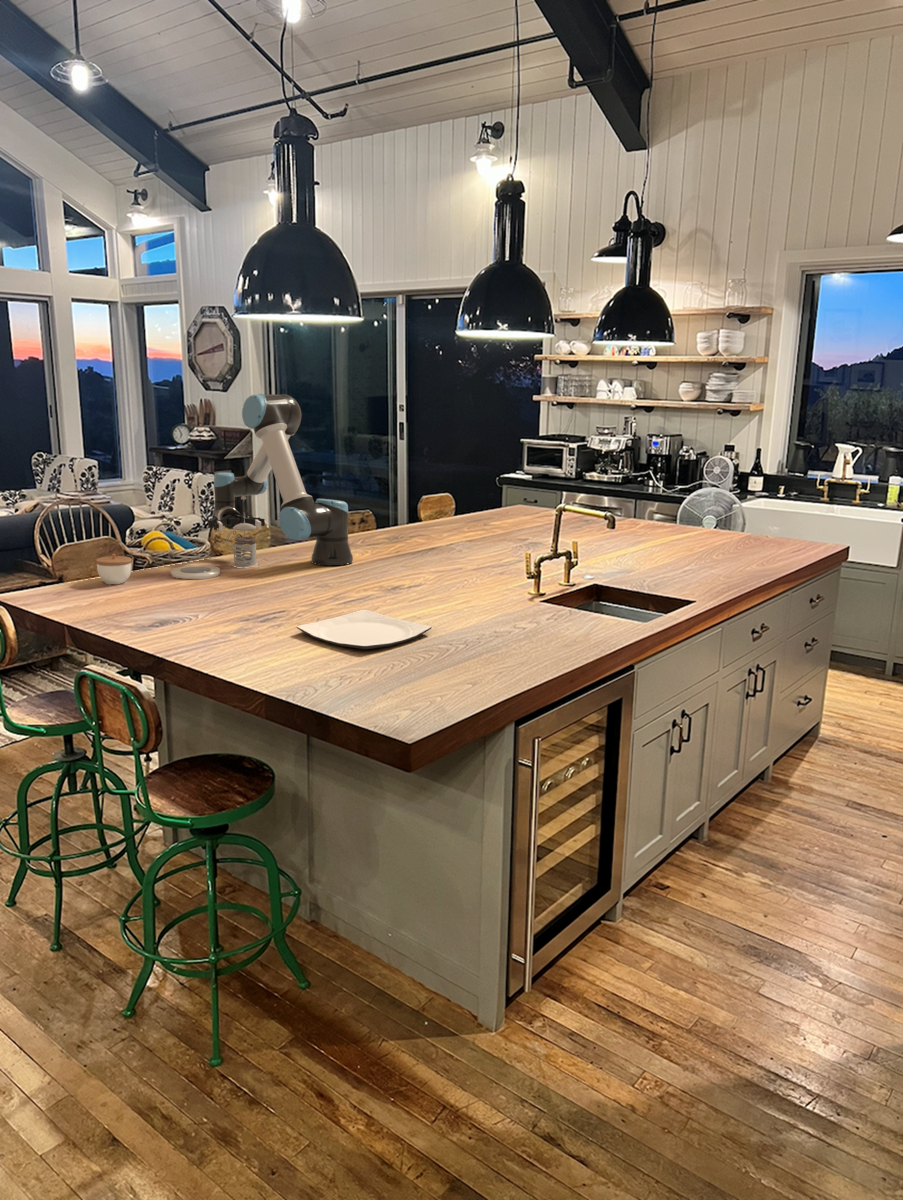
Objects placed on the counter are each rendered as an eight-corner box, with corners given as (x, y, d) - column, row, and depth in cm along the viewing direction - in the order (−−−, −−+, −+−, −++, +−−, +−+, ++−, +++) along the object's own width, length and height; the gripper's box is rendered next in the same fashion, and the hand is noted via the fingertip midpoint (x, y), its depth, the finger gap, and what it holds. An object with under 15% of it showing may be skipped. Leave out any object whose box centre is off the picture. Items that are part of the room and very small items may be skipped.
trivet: (229, 574, 313) (229, 569, 313) (191, 581, 301) (191, 576, 300) (199, 567, 322) (199, 562, 322) (161, 574, 310) (161, 569, 309)
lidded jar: (125, 586, 292) (124, 557, 290) (92, 585, 292) (90, 556, 290) (137, 579, 302) (136, 551, 300) (105, 578, 302) (103, 550, 300)
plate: (364, 616, 266) (364, 607, 266) (439, 636, 249) (439, 626, 248) (288, 635, 245) (288, 626, 244) (365, 658, 227) (365, 648, 227)
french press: (252, 569, 322) (251, 498, 316) (222, 566, 325) (219, 496, 319) (263, 563, 332) (262, 494, 326) (233, 561, 334) (231, 493, 328)
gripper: (263, 526, 350) (276, 535, 331) (196, 529, 340) (205, 538, 321) (262, 506, 348) (275, 515, 329) (195, 508, 338) (204, 517, 319)
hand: (241, 526), depth 325 cm, fingers open, 13 cm apart
